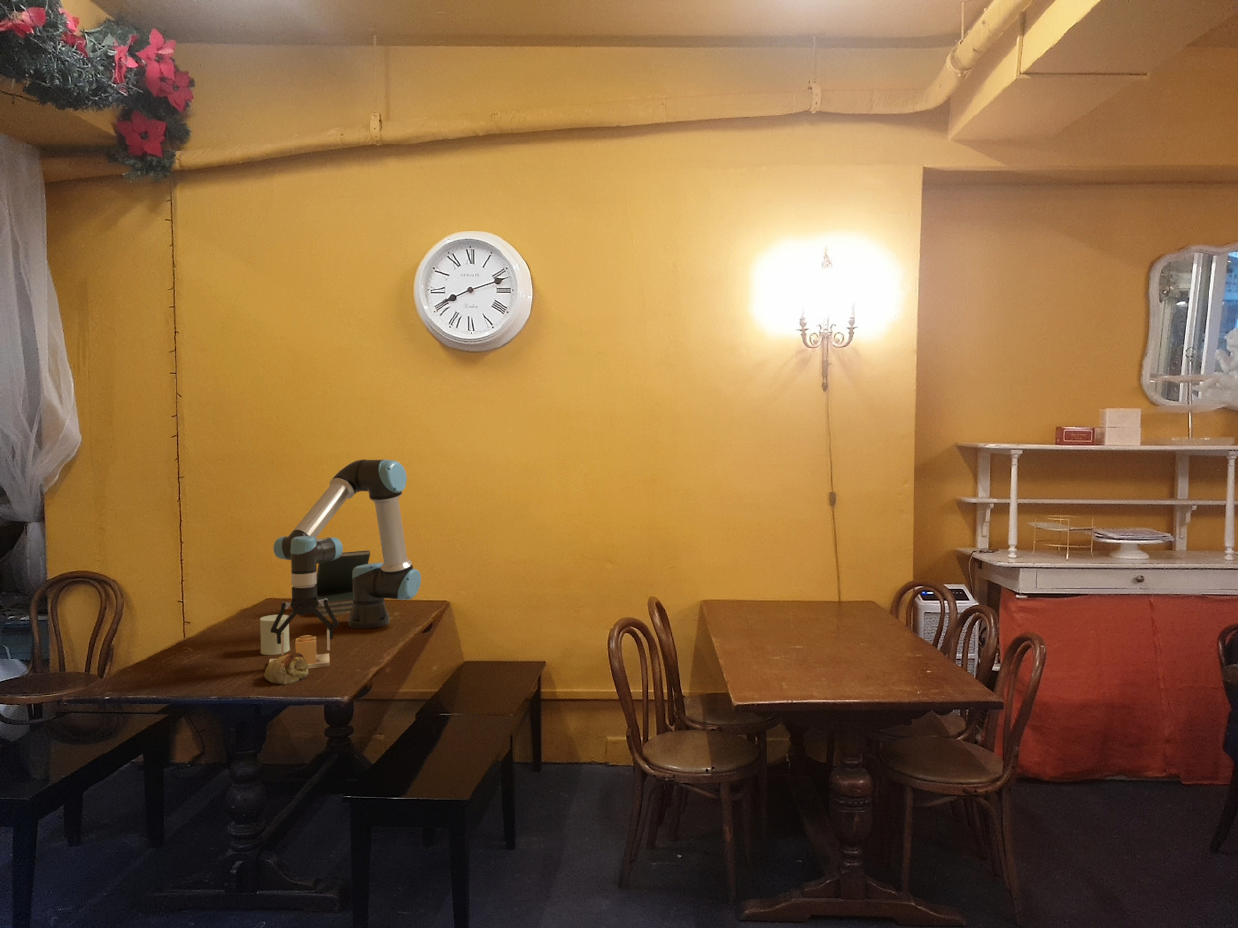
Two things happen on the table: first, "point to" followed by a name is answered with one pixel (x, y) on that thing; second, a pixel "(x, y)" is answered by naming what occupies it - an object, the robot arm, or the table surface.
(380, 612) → the robot arm
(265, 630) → the can
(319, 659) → the flat beige board
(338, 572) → the dark boxy piece
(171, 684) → the table surface
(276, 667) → the pastry
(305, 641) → the cube with dome bump
